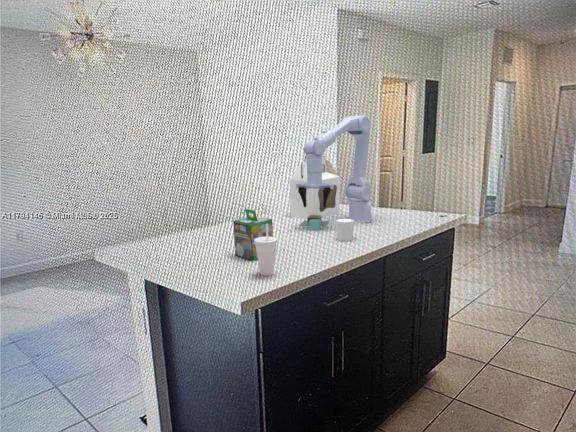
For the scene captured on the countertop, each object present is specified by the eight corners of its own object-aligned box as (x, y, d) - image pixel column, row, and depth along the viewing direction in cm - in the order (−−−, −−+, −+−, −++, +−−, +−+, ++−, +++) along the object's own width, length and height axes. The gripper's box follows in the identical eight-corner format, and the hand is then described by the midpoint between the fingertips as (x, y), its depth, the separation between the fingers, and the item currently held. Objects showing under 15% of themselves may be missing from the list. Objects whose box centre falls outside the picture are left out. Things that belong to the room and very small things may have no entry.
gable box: (314, 221, 176) (314, 156, 171) (290, 218, 184) (288, 155, 179) (339, 212, 194) (340, 153, 188) (316, 210, 202) (315, 153, 196)
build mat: (329, 221, 174) (329, 221, 174) (325, 227, 164) (325, 226, 164) (304, 221, 177) (304, 220, 177) (298, 226, 166) (298, 225, 166)
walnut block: (321, 222, 172) (321, 215, 171) (319, 224, 167) (319, 217, 167) (309, 221, 173) (309, 215, 173) (307, 224, 168) (307, 217, 168)
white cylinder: (331, 238, 147) (331, 219, 146) (346, 235, 150) (347, 217, 149) (342, 242, 141) (342, 223, 140) (358, 240, 144) (358, 220, 143)
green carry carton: (274, 254, 129) (273, 208, 126) (252, 261, 123) (250, 213, 120) (256, 249, 136) (254, 205, 133) (234, 255, 129) (231, 209, 127)
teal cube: (320, 229, 162) (320, 219, 161) (319, 231, 158) (319, 221, 157) (310, 228, 163) (310, 219, 162) (309, 231, 159) (308, 221, 158)
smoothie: (272, 278, 108) (271, 227, 105) (251, 275, 110) (249, 225, 107) (281, 270, 114) (280, 221, 111) (261, 268, 116) (259, 220, 113)
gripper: (293, 173, 154) (294, 208, 156) (331, 173, 150) (331, 209, 153) (297, 171, 160) (298, 205, 163) (334, 171, 157) (334, 206, 160)
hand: (314, 206), depth 158 cm, fingers open, 7 cm apart
